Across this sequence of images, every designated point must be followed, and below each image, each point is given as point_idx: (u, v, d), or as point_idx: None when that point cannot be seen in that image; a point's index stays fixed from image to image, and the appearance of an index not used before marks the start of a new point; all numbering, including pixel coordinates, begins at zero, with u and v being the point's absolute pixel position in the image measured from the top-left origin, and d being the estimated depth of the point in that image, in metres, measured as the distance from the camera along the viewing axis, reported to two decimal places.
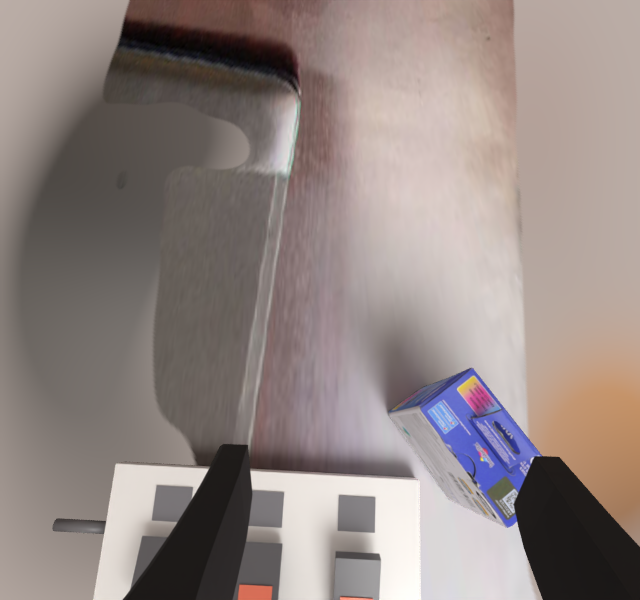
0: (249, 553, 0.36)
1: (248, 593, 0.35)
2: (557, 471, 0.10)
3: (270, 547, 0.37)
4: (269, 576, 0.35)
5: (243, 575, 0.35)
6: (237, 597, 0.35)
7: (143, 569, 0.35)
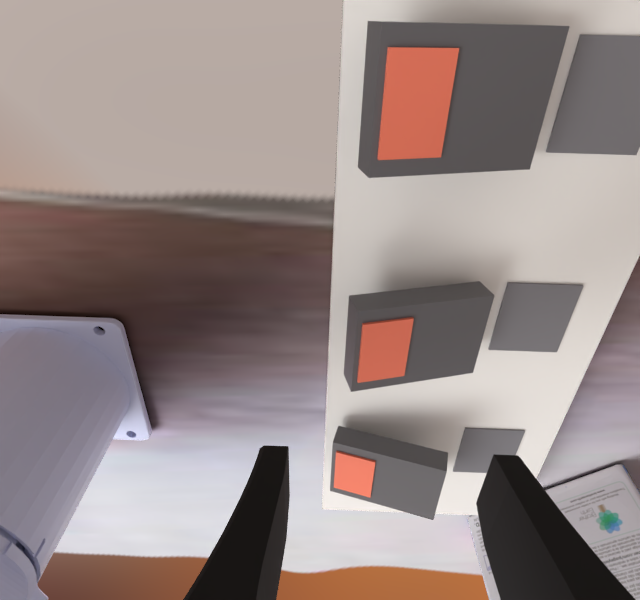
0: (467, 322, 0.16)
1: (395, 337, 0.15)
2: (514, 469, 0.10)
3: (470, 355, 0.17)
4: (420, 365, 0.17)
5: (428, 320, 0.15)
6: (388, 318, 0.15)
7: (479, 57, 0.11)
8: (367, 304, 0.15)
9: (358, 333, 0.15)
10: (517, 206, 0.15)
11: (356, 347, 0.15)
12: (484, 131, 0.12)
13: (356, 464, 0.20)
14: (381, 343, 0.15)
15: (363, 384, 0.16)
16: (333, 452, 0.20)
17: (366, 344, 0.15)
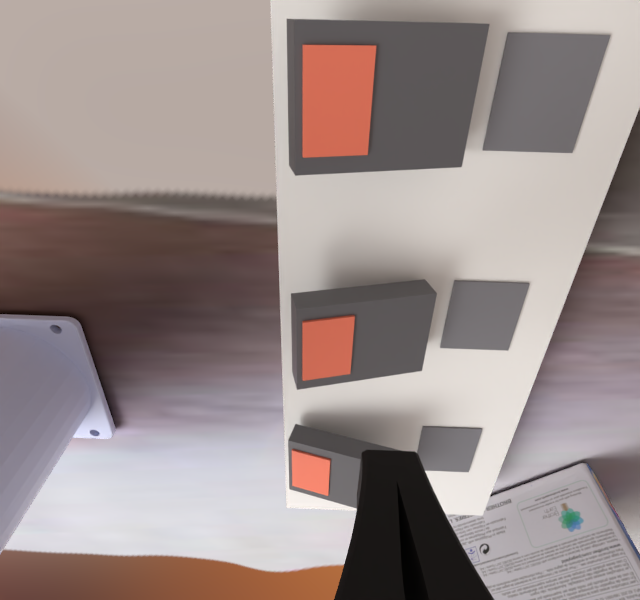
0: (411, 320, 0.16)
1: (337, 335, 0.15)
2: (405, 465, 0.10)
3: (417, 353, 0.17)
4: (366, 363, 0.17)
5: (370, 318, 0.15)
6: (328, 316, 0.15)
7: (399, 54, 0.11)
8: (308, 302, 0.15)
9: (299, 331, 0.15)
10: (458, 204, 0.15)
11: (298, 345, 0.15)
12: (411, 129, 0.12)
13: (312, 462, 0.20)
14: (323, 341, 0.15)
15: (309, 382, 0.16)
16: (289, 450, 0.20)
17: (309, 341, 0.15)
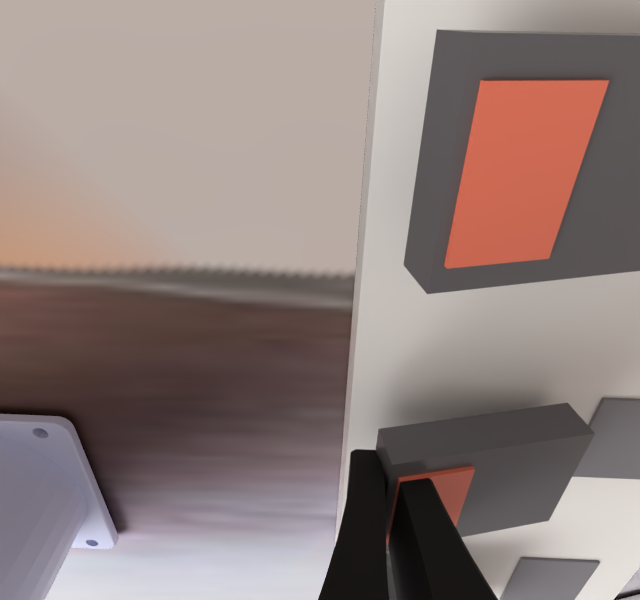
0: (551, 466, 0.11)
1: (444, 490, 0.11)
2: None
3: (548, 502, 0.12)
4: (477, 519, 0.12)
5: (495, 468, 0.10)
6: (437, 469, 0.10)
7: (638, 95, 0.06)
8: (407, 448, 0.10)
9: (391, 490, 0.10)
10: (631, 303, 0.10)
11: (387, 505, 0.10)
12: (622, 215, 0.07)
13: None
14: None
15: None
16: None
17: None
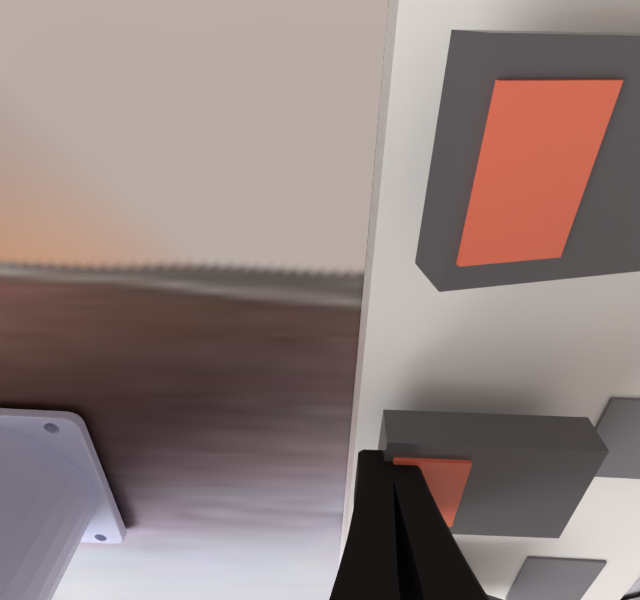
0: (558, 477, 0.11)
1: (442, 480, 0.11)
2: (402, 465, 0.10)
3: (557, 517, 0.11)
4: (478, 518, 0.12)
5: (495, 467, 0.10)
6: (433, 456, 0.10)
7: None
8: (405, 431, 0.10)
9: None
10: None
11: None
12: (634, 214, 0.07)
13: None
14: None
15: None
16: None
17: None
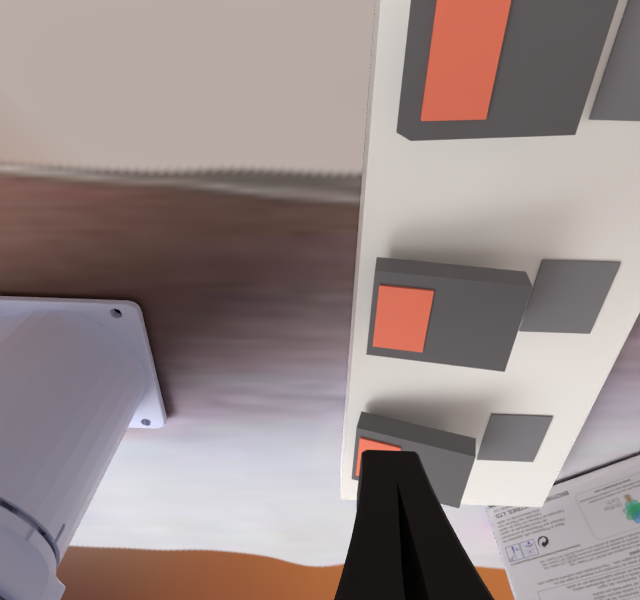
0: (498, 310, 0.15)
1: (414, 308, 0.15)
2: (405, 465, 0.10)
3: (501, 350, 0.16)
4: (441, 346, 0.16)
5: (451, 297, 0.15)
6: (407, 285, 0.15)
7: (531, 10, 0.10)
8: (389, 267, 0.15)
9: (375, 294, 0.15)
10: (556, 178, 0.15)
11: (372, 308, 0.16)
12: (531, 92, 0.12)
13: None
14: (398, 310, 0.15)
15: (379, 349, 0.16)
16: (356, 438, 0.20)
17: (383, 307, 0.15)
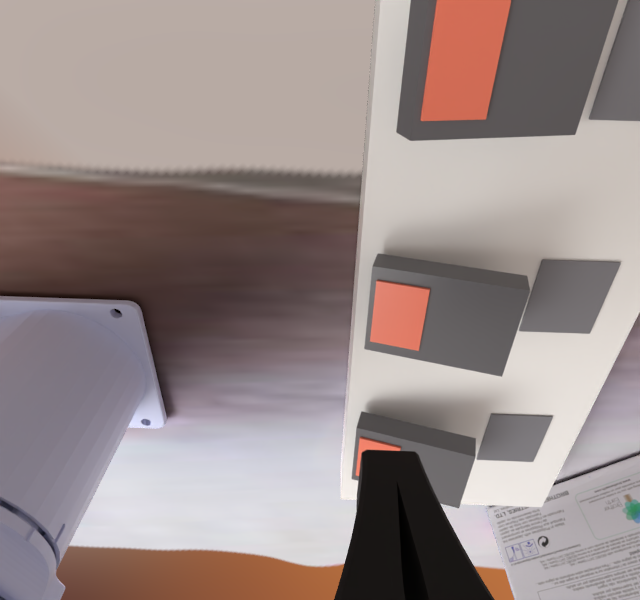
0: (495, 313, 0.15)
1: (410, 305, 0.15)
2: (405, 465, 0.10)
3: (498, 354, 0.15)
4: (438, 346, 0.16)
5: (447, 297, 0.15)
6: (403, 282, 0.15)
7: (531, 10, 0.10)
8: (387, 263, 0.15)
9: (372, 289, 0.15)
10: (556, 178, 0.15)
11: (370, 303, 0.16)
12: (531, 92, 0.12)
13: None
14: (395, 307, 0.16)
15: (376, 345, 0.17)
16: (356, 438, 0.20)
17: (381, 303, 0.16)
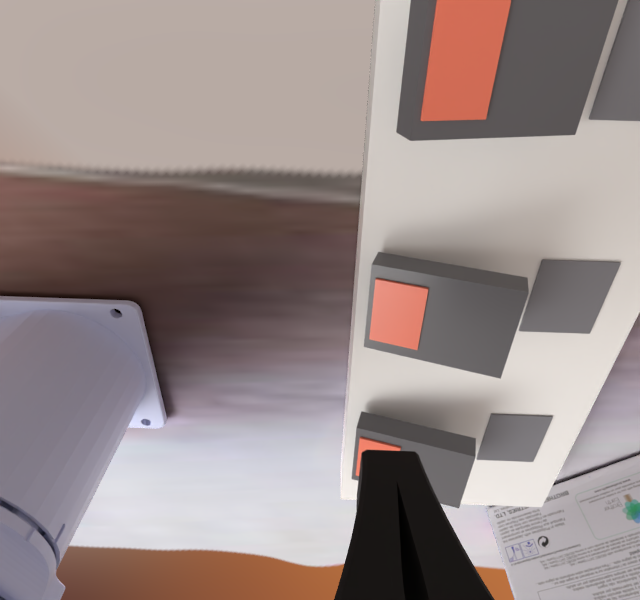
0: (494, 314, 0.15)
1: (409, 304, 0.15)
2: (405, 465, 0.10)
3: (497, 356, 0.15)
4: (436, 346, 0.16)
5: (446, 297, 0.15)
6: (402, 281, 0.15)
7: (531, 10, 0.10)
8: (387, 262, 0.15)
9: (372, 287, 0.16)
10: (556, 178, 0.15)
11: (369, 301, 0.16)
12: (531, 92, 0.12)
13: None
14: (394, 306, 0.16)
15: (376, 343, 0.17)
16: (356, 438, 0.20)
17: (380, 301, 0.16)
